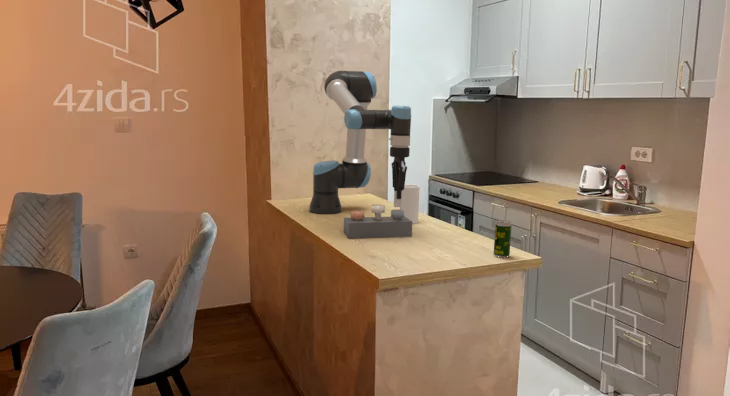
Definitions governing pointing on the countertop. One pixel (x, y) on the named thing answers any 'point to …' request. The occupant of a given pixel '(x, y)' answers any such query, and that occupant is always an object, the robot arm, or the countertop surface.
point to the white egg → (377, 211)
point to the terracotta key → (357, 215)
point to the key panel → (377, 227)
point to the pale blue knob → (397, 214)
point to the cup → (410, 202)
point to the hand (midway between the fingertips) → (397, 206)
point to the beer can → (502, 238)
